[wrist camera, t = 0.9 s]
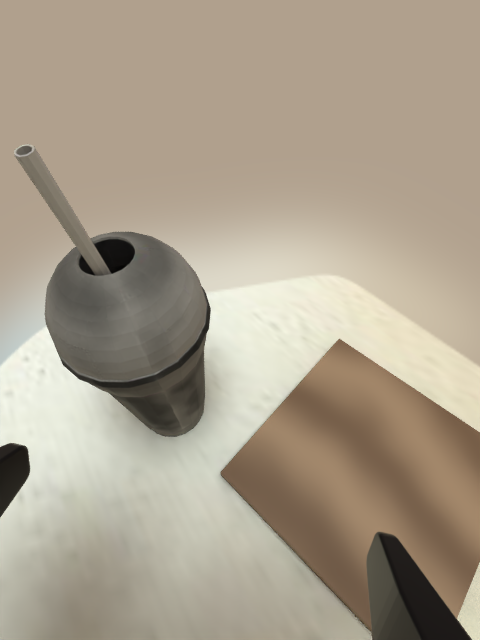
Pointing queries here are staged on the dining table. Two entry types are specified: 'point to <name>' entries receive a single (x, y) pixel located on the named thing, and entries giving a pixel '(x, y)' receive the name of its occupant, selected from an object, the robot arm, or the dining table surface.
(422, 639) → the robot arm
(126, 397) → the beverage cup
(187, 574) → the dining table surface
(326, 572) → the walnut board
